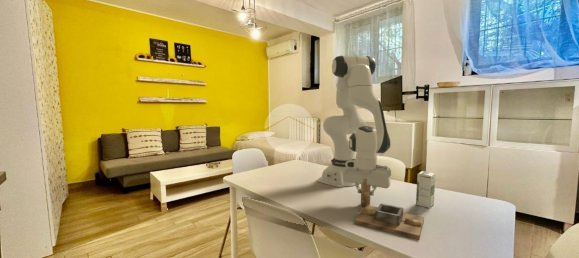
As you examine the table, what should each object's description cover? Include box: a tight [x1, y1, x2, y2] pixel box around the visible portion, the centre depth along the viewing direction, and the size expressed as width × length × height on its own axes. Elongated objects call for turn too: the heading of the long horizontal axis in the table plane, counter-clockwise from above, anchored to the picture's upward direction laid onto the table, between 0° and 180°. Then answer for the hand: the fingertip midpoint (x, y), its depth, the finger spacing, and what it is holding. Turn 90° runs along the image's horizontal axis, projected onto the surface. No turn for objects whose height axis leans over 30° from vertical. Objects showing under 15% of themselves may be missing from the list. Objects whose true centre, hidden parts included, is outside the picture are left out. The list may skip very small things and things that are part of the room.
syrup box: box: [415, 170, 436, 209], centre depth 108 cm, size 6×6×14 cm
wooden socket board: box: [353, 203, 425, 241], centre depth 94 cm, size 22×16×5 cm
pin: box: [360, 179, 372, 207], centre depth 109 cm, size 4×4×12 cm
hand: (365, 194), depth 109 cm, fingers closed on pin, 4 cm apart
